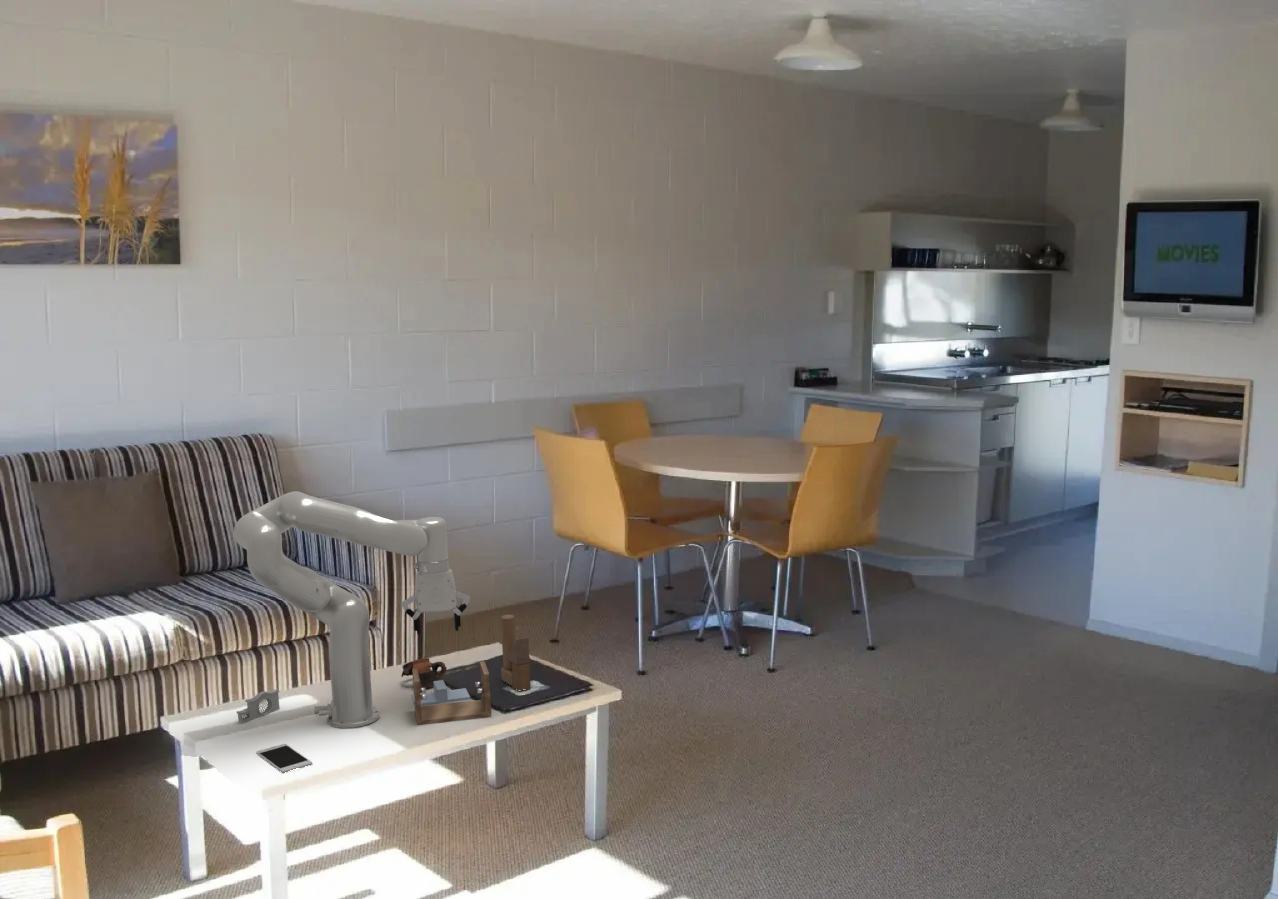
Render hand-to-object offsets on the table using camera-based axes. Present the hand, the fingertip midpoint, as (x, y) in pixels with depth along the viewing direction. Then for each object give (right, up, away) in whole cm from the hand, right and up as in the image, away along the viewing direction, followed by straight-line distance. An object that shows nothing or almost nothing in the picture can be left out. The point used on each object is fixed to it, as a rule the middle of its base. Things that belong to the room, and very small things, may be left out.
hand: (437, 631), depth 311 cm
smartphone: (-29, -25, -33) cm, 51 cm away
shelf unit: (+5, -19, -8) cm, 22 cm away
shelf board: (0, -18, +3) cm, 18 cm away
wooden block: (+19, -16, +11) cm, 27 cm away
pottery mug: (-6, -17, +14) cm, 22 cm away
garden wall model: (-44, -21, -6) cm, 49 cm away
